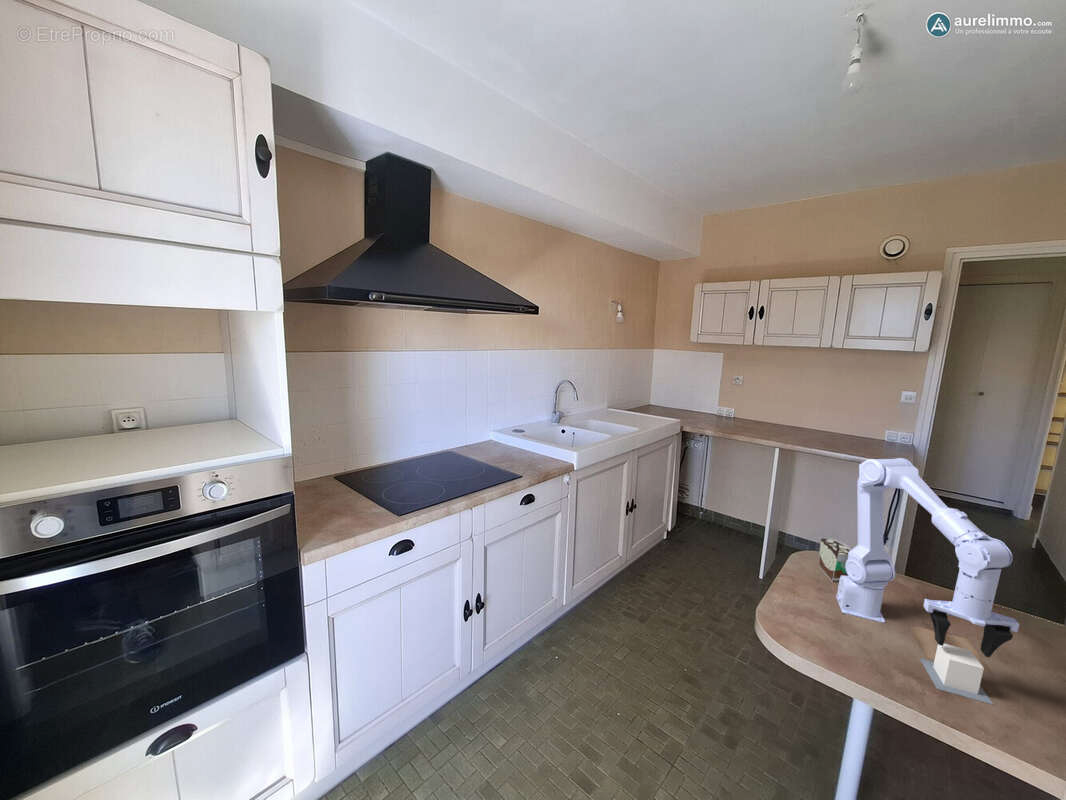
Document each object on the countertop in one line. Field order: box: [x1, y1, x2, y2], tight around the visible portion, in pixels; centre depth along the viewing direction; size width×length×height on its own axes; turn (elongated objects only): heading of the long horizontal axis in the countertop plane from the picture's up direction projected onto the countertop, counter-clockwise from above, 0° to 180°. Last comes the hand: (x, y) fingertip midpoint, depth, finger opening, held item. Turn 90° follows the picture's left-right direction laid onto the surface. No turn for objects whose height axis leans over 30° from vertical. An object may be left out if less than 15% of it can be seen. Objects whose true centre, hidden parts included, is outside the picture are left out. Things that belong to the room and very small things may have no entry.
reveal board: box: [906, 624, 995, 676], centre depth 102 cm, size 12×12×1 cm
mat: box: [919, 658, 994, 705], centre depth 93 cm, size 9×9×1 cm
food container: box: [817, 535, 852, 584], centre depth 131 cm, size 12×6×10 cm, turn 168°
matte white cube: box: [933, 644, 984, 694], centre depth 92 cm, size 6×6×6 cm
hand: (961, 648), depth 91 cm, fingers open, 7 cm apart
